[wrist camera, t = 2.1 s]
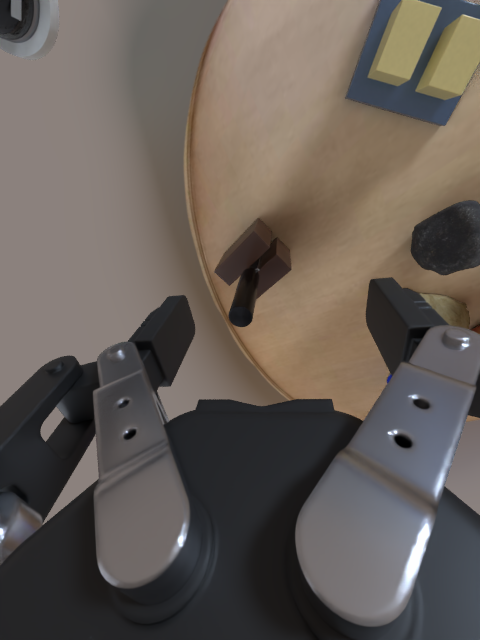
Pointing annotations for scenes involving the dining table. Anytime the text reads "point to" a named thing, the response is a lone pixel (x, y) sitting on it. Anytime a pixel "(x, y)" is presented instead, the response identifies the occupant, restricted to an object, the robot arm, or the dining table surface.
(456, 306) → the rock
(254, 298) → the knife
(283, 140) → the dining table surface
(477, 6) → the butter dish
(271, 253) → the knife block
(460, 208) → the stone
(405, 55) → the butter
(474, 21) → the butter
